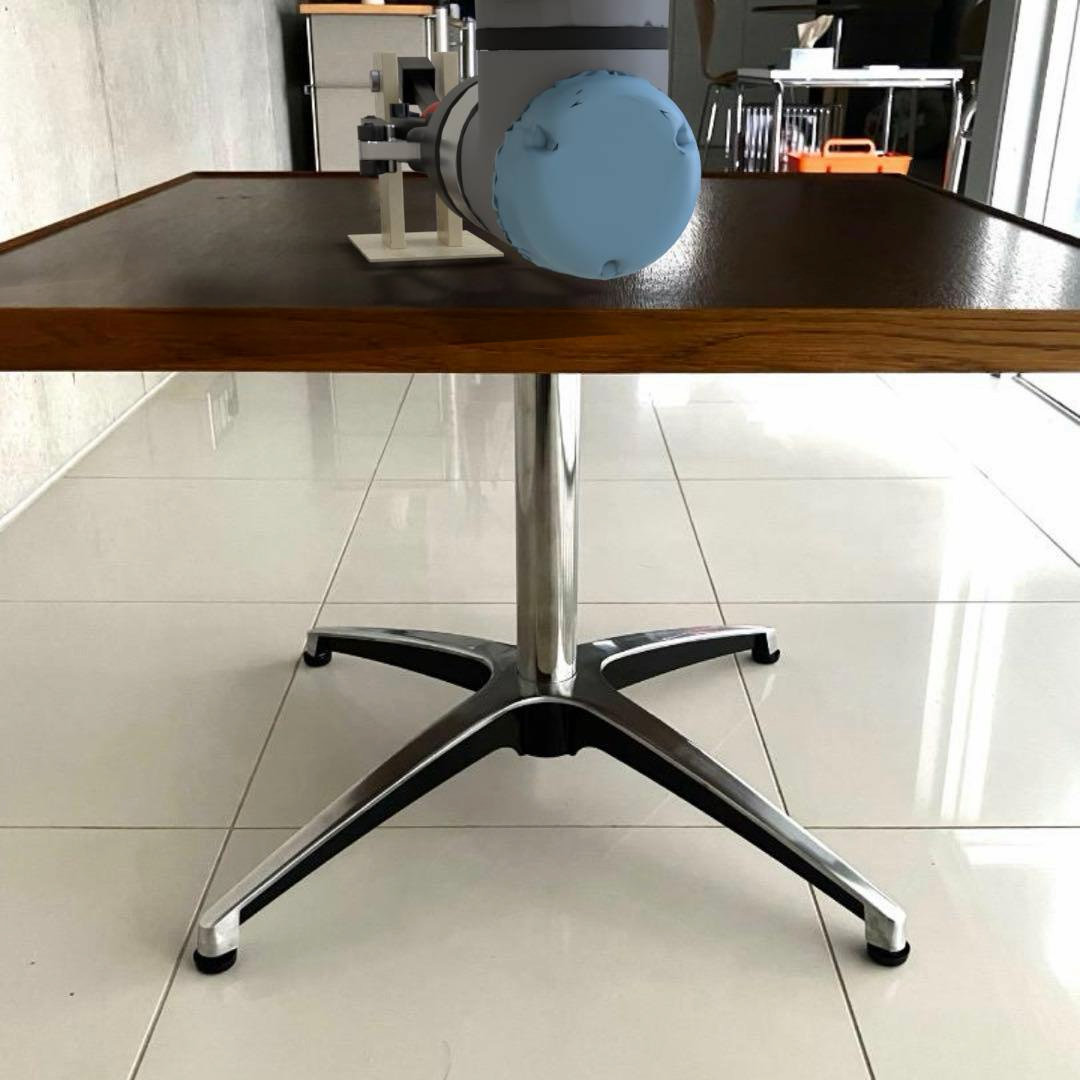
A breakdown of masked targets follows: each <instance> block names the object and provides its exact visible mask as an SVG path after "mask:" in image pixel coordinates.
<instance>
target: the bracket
mask: <svg viewBox="0 0 1080 1080" xmlns="http://www.w3.org/2000/svg"><path fill="white" fill-rule="evenodd" d="M458 54H459V53H458V51H431V52H430V61H431V63H432V64H433V66H434V67H435V94H436V95H437V97H438V98H439V100H440V101H441V100H442V99H443V98H444V97H445V96H446V94H447V93H448V92H449V91H451V90H452V89H453V88H454V87H455V86H457V85H458V84H459V83H461V82H462V74H461V70H460V69H459V55H458ZM397 57H398V52H397V51H375V52H374V51H372V68H373V69H370V70H369V74H368V75H369V77H368V78H369V89H370V92H371V93H374V109H375V111H374V112H375V117H377V118H382V119H384V120H385V121H387V122H388V123H390V113H389V103H400V99H399V88H398V65H397ZM378 189H379V209H380V228H381V229H380V230H381V231H380V232H381V233H363V234H362V233H361V234H347V239H348V240H349V241H350V242H351V244H352V245H353V246H354V247H355V248H356V249H357V250H358V251H359V253H360V254H361V255H362V256H363V257H364V258H365V259H366V260H367V261H368V262H369V263H383V262H384V263H386V262H388V263H389V262H405V261H406V262H409V261H410V262H411V261H429V260H430V261H431V260H450V259H451V260H452V259H453V260H454V259H455V260H456V259H476V258H498V257H499V258H500V257H504V256H505V254H504V253H505V252H502V250H500V249H498V248H496V247H494V246H493V245H491V244H490V243H488V242H486V241H485V240H484V239H481V238H480V237H478V236H477V235H475V234H473V233H471V232H470V231H468V230H466V229H465V230H463V219H462V218H460V217H459V216H458V215H456V214H455V213H454V212H452V211H451V210H450V209H449V208H448V207H447V206H446V205H445V204H444V203H443V201H442V200H441V199H440V197H439V196H438V194H437V193H436V192H435V213H436V214H435V215H436V216H435V217H436V231H418V232H417V231H416V232H415V231H413V232H406V230H405V229H406V228H405V227H406V226H405V207H404V206H405V204H404V185H403V163H399V162H398V161H397V172H396V173H385V174H381V175H378Z"/></svg>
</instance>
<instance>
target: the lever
mask: <svg viewBox="0 0 1080 1080" xmlns="http://www.w3.org/2000/svg"><path fill="white" fill-rule="evenodd" d="M397 65H398V88H399V101H400V103H409V106H417V107H418V109H419V111H420V112H421V113H420V118H425V119H426V114H427V113H428V112H434V111H435V109H436V108H437V106H438V104H439V103H440V102H441V101H440V100H439V98H438V97H437V95H436V94H435V67H434V66H433V64H432V63H431V59H430V58H429V57H428V56H397Z"/></svg>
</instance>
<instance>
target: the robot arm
mask: <svg viewBox="0 0 1080 1080" xmlns="http://www.w3.org/2000/svg"><path fill="white" fill-rule="evenodd" d="M474 9H475V10H474V12H475V33H474V34H475V38H474V39H475V51H476V58H477V59H476V60H477V63H476V64H477V74H475V75H473V76H471V77H468V78H466V79H465V80H463V81H461V83H459V84H458V85H457V86H455V87H454V88H453V89H452V90H451V91H449V92H448V93H447V94H446V96H445V97H444V98H443V99H442V100H441V102H440V103H439V104H438V106H437V108H436V109H435V111H434V112H428V113H427V114H426V119H425V118H420V116H421V113H420V112H416V111H411V110H410V105H409V103H402V102H399V103H389V113H390V123H388V122H387V121H385V120H384V119H382V118H377V117H376V114H375V115H374V114H371V115H370V114H369V115H366V116H363V117H361V118H360V124H359V125H357V126H356V129H357V131H356V132H357V133H356V134H357V149H358V165H359V166H358V168H359V175H360V176H366V178H369V179H371V178H374V179H375V178H377V176H379V175H381V174H385V173H396V172H397V161H398V162H399V163H402V164H404V163H405V164H407V165H408V167H409V169H410V170H411V171H413V172H415V173H418V174H426V175H427V177H428V179H429V182H430V184H431V186H432V188H433V189H434V192H435V194H436V193H437V194H438V196H439V197H440V199H441V200H442V201H443V203H444V204H445V205H446V206H447V207H448V208H449V209H450V210H451V211H452V212H454V213H455V214H456V215H458V216H459V217H460V218H462V220H464V221H465V222H467V223H469V224H471V225H473V226H474V227H476V228H478V229H481V230H482V231H485V232H486V233H488V234H491V235H493V236H494V237H496V238H497V239H498V240H500V241H502V242H503V243H505V244H507V245H508V246H510V247H512V248H513V249H514V250H515V251H516V252H517V253H519V254H520V255H522V258H524V259H525V260H528V261H529V262H532V264H535V266H537V267H538V268H542V269H544V270H548V271H550V272H554V273H558V274H565V275H569V276H575V277H578V278H583V279H589V280H602V281H608V280H612V279H617V278H622V277H625V276H629V275H632V274H635V273H637V272H639V271H641V270H643V269H645V268H647V267H649V266H651V265H652V264H654V263H656V262H657V261H658V260H660V259H661V258H662V257H663V256H664V255H666V253H667V252H668V251H670V249H672V247H673V246H674V245H675V244H676V243H677V241H678V240H679V239H680V238H681V237H682V235H683V233H684V231H685V230H686V228H687V226H688V224H689V222H690V221H691V219H692V217H693V213H694V211H695V209H696V206H697V202H698V199H699V194H700V190H701V189H700V188H701V180H702V165H701V164H702V162H701V155H700V151H699V147H698V144H697V141H696V138H695V135H694V132H693V130H692V128H691V126H690V124H689V122H688V120H687V119H686V116H685V115H684V113H683V112H682V111H681V109H680V108H679V107H678V105H677V104H676V103H675V102H674V101H673V100H672V99H671V97H669V96H668V95H669V69H670V68H669V67H670V65H669V56H670V55H669V53H670V52H669V49H668V38H669V37H668V35H669V31H668V28H669V20H670V19H669V18H670V17H669V15H670V0H474Z"/></svg>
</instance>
